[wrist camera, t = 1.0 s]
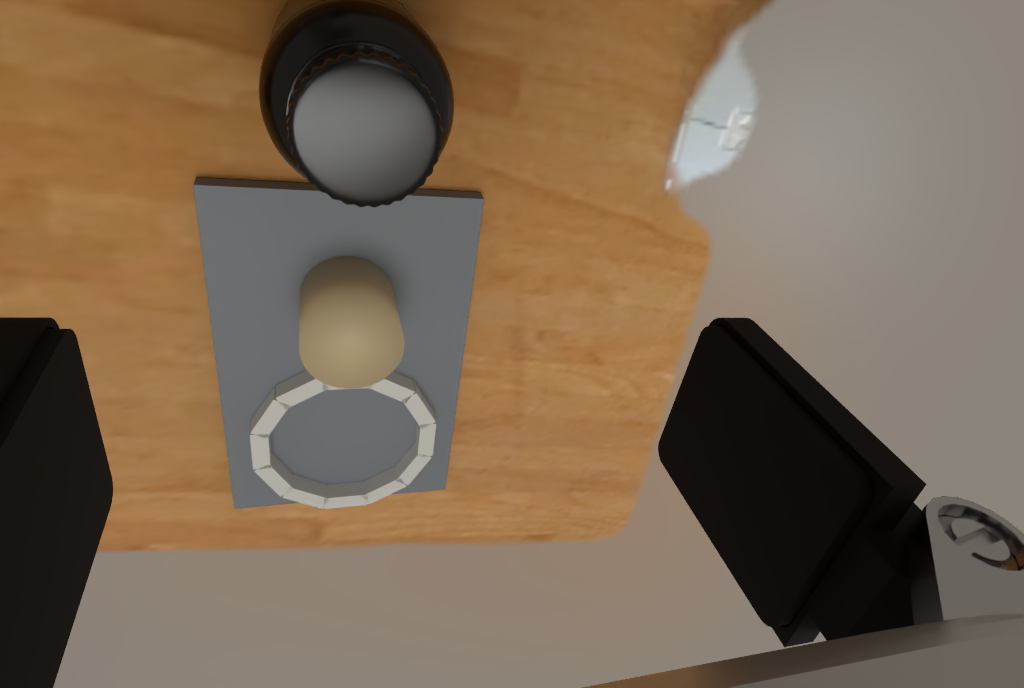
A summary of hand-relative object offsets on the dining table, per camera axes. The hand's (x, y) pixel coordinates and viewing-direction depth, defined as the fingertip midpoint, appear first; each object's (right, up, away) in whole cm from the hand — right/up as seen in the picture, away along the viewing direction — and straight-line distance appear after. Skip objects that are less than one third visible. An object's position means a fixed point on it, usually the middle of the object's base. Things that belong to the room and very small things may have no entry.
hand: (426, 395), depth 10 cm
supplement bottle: (-6, +14, +19) cm, 25 cm away
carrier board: (-9, 0, +28) cm, 30 cm away
